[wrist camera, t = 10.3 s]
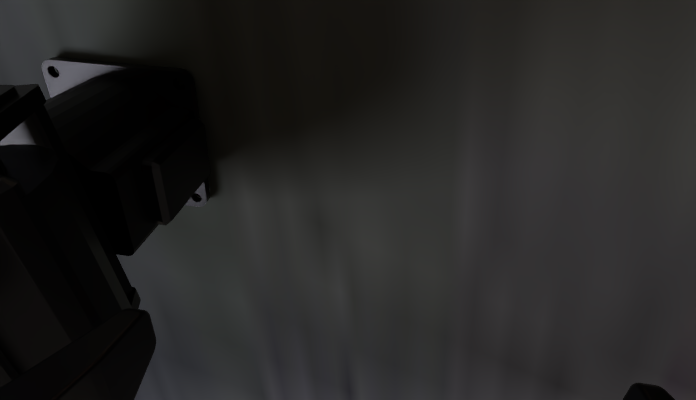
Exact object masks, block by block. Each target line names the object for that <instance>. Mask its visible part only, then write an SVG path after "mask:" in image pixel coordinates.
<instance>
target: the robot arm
mask: <svg viewBox="0 0 696 400" xmlns="http://www.w3.org/2000/svg"><path fill="white" fill-rule="evenodd" d="M54 67H55V68H57V69H58V71H59V74H58V73H57V72H56V71H55V69H54ZM42 71H43V75H44V78H45V81H46V84H47V87H48V90H49V93H50V97H51V98H50V99H48V100H46V99H45V97H44V95H43V93H42V91H41V89H40V87H39V85H38V84H29V85H17V86H14V85H0V400H134V399H135V396H136V394H137V391H138V389H139V387H140V384H141V382H142V379H143V377H144V375H145V372H146V370H147V367H148V365H149V362H150V360H151V358H152V355H153V353H154V350H155V346H156V337H155V333H154V329H153V325H152V322H151V318H150V315H149V313H148V312H147V311H145V310H140V309H138V308H139V304H140V297H139V295H138V293H137V290H136V289H135V288H134V287H131V285H130V283H129V281H128V279H127V276H126V274H125V272H124V270H123V268H122V266H121V264H120V262H119V260H118V258H117V256H116V254H118V255H126V256H131V255H133V254H134V253H135V251H136V250H137V249H138V248H139V247H140V246H141V244H142V243H143V242H144V241H145V240H146V239H147V237H148V236H149V235H150V234H151V233H152V232H153V230H154V229H155V228H156V227H157V226H158V225H159V224H160V225H167V224H168V223H169V222H171V221H172V220H173V218H174V217H175V216H176V215H177V214H178V212H179V211H180V210H181V209H182V208H183V206H184V205H188V206H196V207H201V206H203V205H205V204H206V202H207V201H208V200H209V198H210V192H209V185H208V176H209V175H210V165H209V157H208V150H207V142H206V135H205V127H204V124H203V123H202V121H201V120H200V119H199V112H198V105H197V97H196V90H195V83H194V79H193V77H192V75H191V74H190V73H189V72H188V71H186V70H183V69H178V68H167V67H156V66H145V65H134V64H124V63H113V62H102V61H91V60H80V59H69V58H59V57H55V58H51V59H48V60H46V61H44V62H43V64H42ZM177 78H180V79H181V80H183V82H184V84H185V85H184V87H183V86H180V85H179V84H178V82H177ZM195 193H197V194H199V195H200V196H201V198H199V197H197V196H196V195H195ZM623 400H675V399H674V398H673V397H672V396H671V395H670V394H669V393H668V392H667V391H665V390H664V389H663V388H661V387H659V386H656V385H651V384H644V383H635V384H633V385H632V386H631V387H630V388H629V390H628V392H627V393H626V395H625V397H624V398H623Z"/></svg>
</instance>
